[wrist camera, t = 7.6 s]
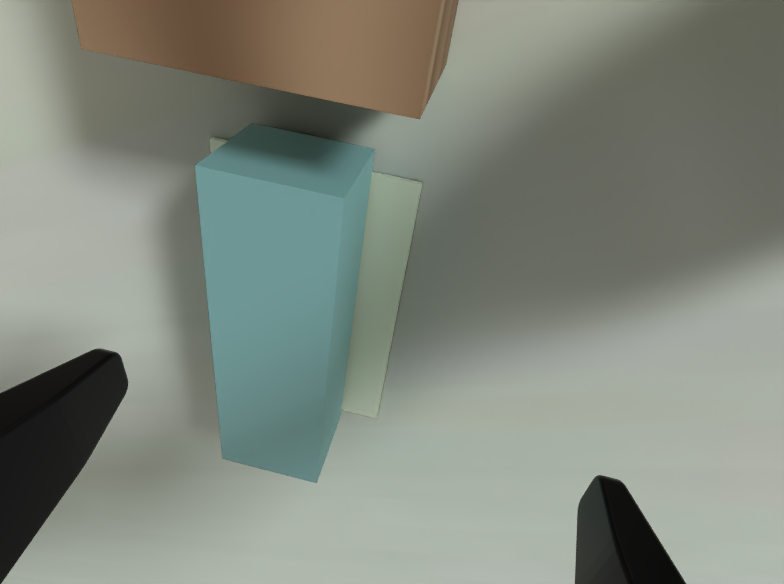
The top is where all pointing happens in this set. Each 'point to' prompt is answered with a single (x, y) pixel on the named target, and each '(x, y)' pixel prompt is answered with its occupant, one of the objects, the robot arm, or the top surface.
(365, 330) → the pad
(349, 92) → the tunnel
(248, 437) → the bar
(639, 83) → the top surface
